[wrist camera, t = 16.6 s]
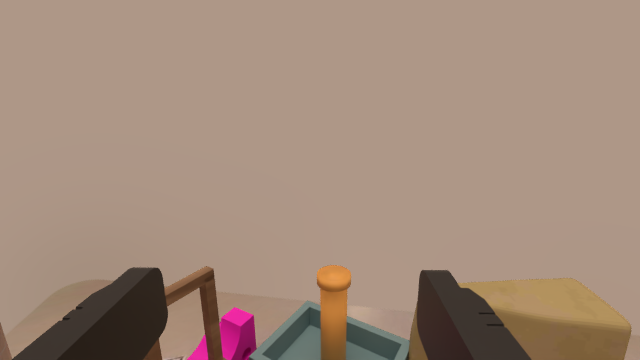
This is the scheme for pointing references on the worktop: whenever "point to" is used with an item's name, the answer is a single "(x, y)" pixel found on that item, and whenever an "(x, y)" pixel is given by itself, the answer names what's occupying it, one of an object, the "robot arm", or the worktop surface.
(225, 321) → the toy block
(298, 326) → the tray
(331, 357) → the pin
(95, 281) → the worktop surface
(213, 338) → the trolley
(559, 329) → the cheese
